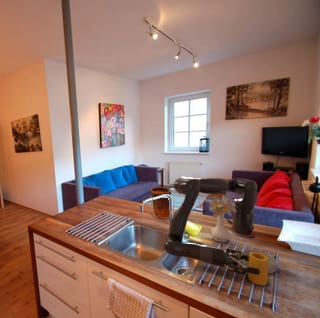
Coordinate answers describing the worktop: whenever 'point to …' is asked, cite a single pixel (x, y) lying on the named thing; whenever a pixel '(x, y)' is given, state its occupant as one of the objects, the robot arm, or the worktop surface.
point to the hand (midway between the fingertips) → (257, 265)
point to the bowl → (272, 260)
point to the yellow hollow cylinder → (258, 267)
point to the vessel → (161, 203)
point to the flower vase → (221, 217)
